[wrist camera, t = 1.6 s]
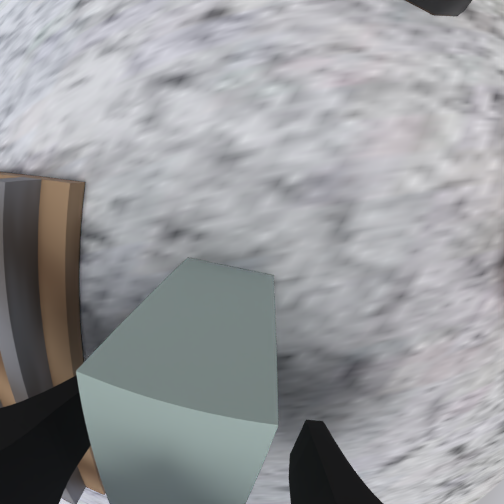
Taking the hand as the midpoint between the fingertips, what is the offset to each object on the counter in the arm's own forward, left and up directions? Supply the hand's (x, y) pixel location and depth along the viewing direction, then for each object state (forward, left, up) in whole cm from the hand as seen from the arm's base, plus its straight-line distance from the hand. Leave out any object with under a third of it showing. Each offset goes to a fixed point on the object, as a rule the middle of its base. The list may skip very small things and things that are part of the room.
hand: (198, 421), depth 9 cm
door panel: (0, 0, -2) cm, 2 cm away
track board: (-3, +11, -2) cm, 12 cm away
